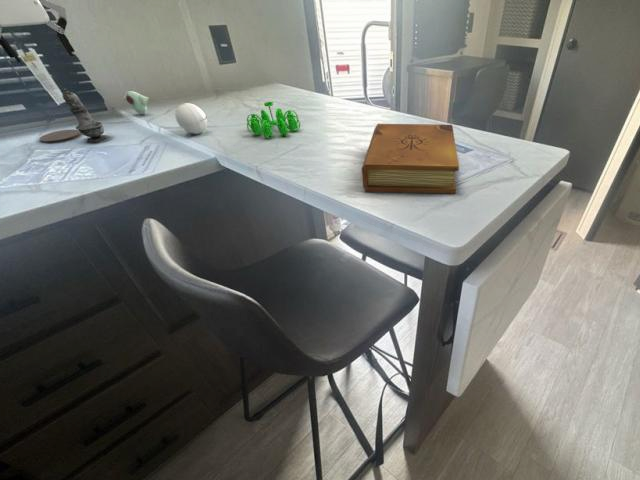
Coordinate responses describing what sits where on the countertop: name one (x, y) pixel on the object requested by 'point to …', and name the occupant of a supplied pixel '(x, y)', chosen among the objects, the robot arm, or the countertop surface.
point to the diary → (411, 159)
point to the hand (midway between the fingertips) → (46, 58)
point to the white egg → (191, 118)
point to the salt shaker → (85, 119)
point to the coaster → (60, 136)
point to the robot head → (137, 101)
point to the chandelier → (272, 122)
